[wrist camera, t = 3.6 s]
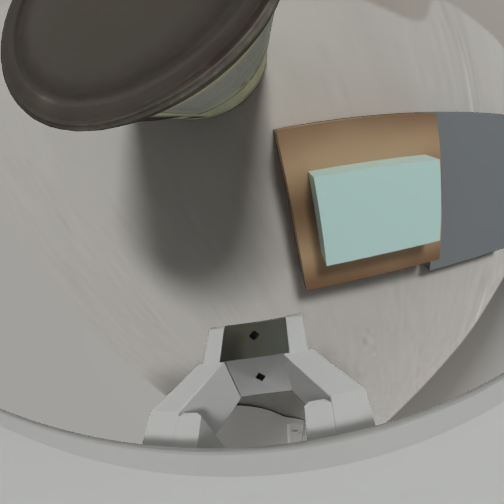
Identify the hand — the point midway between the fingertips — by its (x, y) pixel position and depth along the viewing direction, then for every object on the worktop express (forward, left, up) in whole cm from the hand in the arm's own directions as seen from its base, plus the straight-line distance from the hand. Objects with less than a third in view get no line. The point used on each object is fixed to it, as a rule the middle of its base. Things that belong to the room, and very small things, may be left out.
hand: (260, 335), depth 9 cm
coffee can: (+12, +2, -15) cm, 19 cm away
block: (-1, -8, -11) cm, 14 cm away
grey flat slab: (-2, -20, -14) cm, 25 cm away
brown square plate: (-1, -8, -14) cm, 17 cm away
